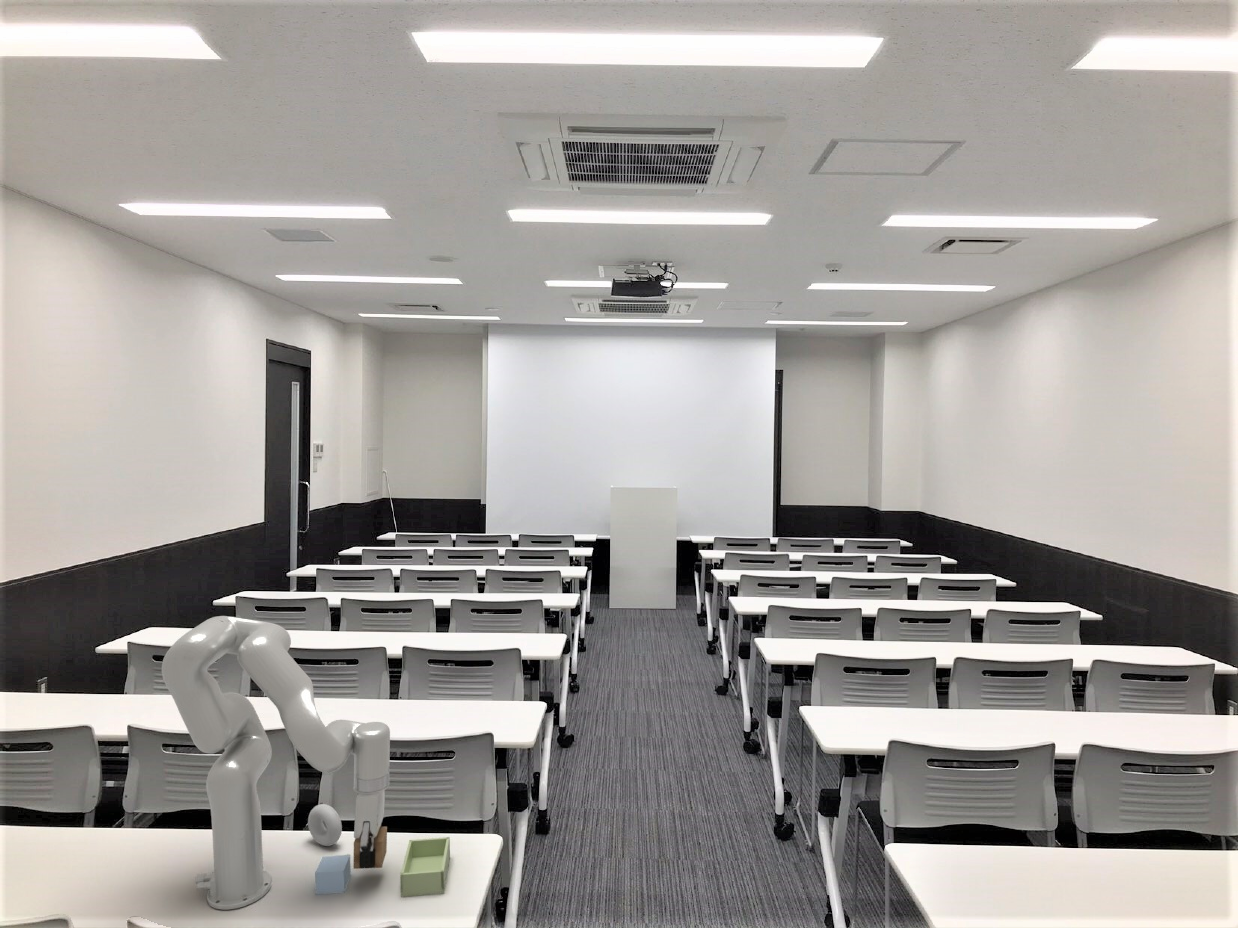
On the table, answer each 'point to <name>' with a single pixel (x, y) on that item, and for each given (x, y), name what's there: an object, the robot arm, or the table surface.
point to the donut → (318, 828)
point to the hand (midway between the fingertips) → (370, 856)
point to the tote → (425, 867)
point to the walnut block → (379, 847)
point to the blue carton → (332, 874)
